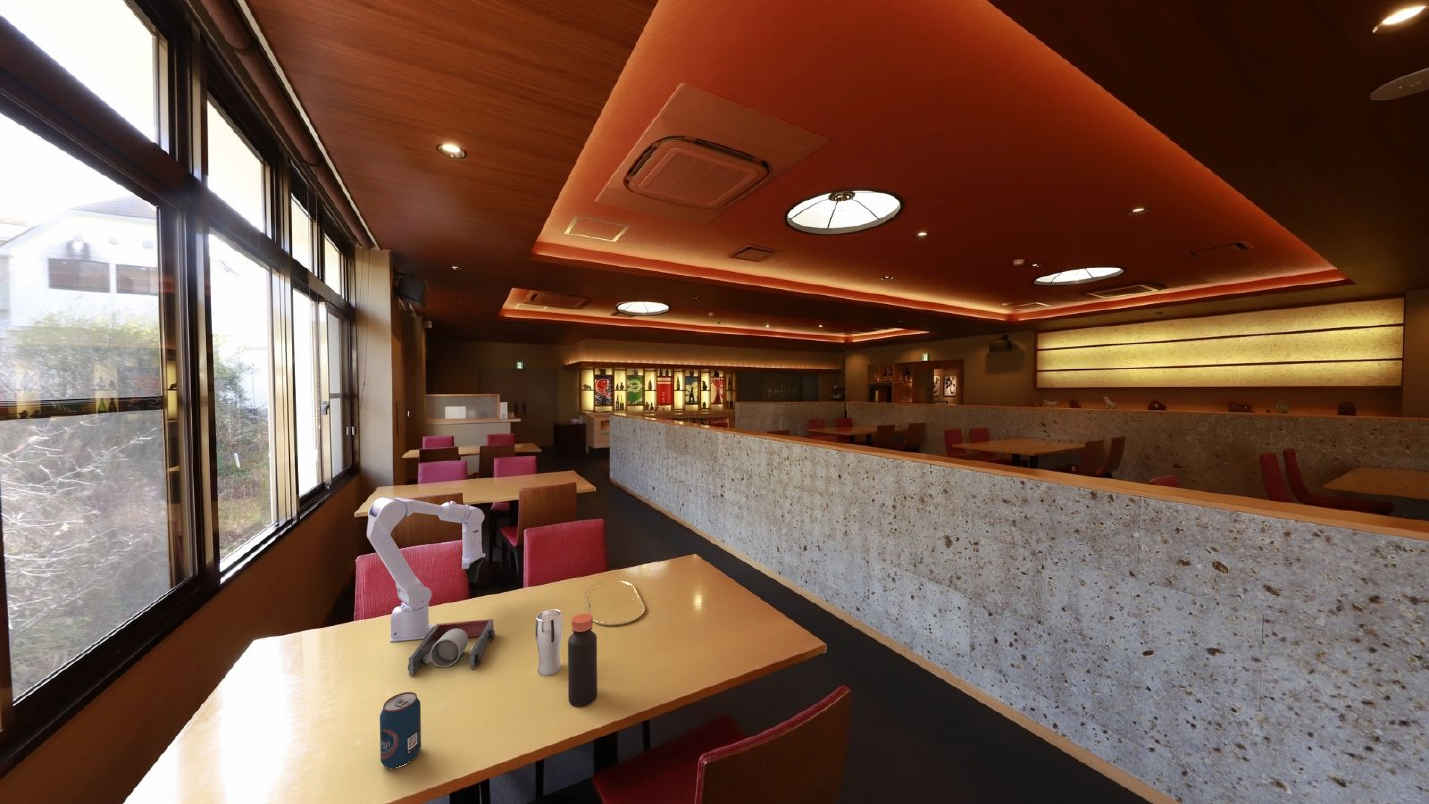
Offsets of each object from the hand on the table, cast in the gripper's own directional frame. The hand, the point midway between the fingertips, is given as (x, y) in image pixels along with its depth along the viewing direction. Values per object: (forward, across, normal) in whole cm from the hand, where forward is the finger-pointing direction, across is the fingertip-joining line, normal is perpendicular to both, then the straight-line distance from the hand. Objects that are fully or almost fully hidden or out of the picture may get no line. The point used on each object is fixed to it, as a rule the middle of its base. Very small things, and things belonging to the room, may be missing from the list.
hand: (472, 581), depth 157 cm
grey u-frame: (+10, -26, -3) cm, 28 cm away
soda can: (+11, -65, -6) cm, 66 cm away
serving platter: (+11, -2, -47) cm, 48 cm away
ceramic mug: (+11, -29, -2) cm, 31 cm away
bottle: (+11, -53, -41) cm, 68 cm away
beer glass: (+11, -39, -31) cm, 51 cm away
